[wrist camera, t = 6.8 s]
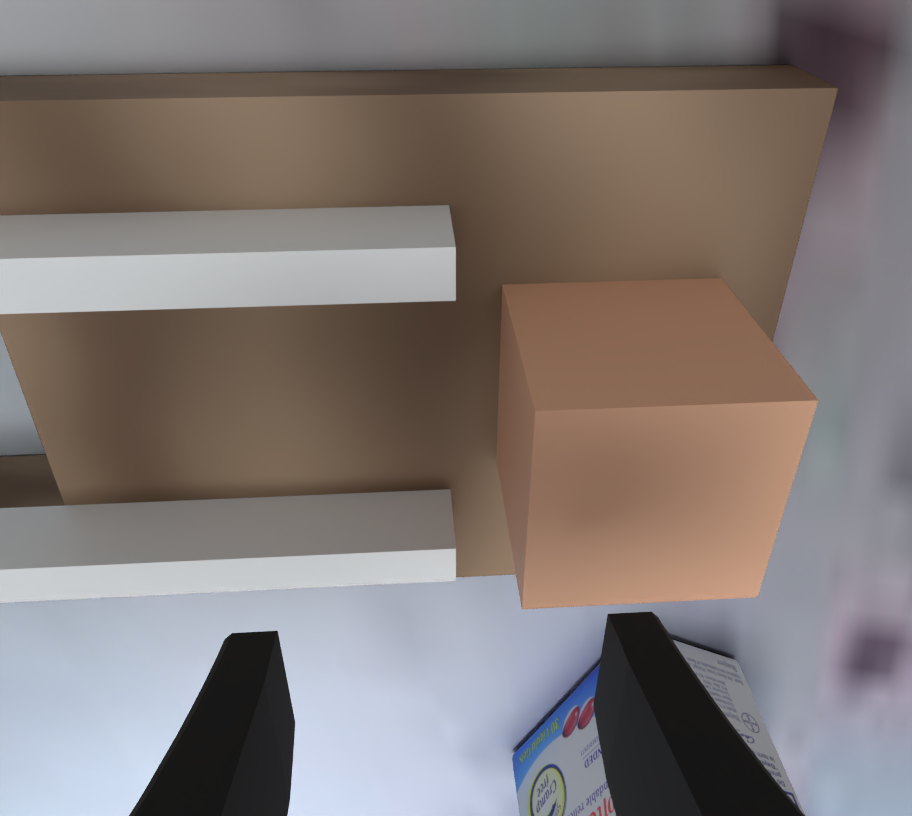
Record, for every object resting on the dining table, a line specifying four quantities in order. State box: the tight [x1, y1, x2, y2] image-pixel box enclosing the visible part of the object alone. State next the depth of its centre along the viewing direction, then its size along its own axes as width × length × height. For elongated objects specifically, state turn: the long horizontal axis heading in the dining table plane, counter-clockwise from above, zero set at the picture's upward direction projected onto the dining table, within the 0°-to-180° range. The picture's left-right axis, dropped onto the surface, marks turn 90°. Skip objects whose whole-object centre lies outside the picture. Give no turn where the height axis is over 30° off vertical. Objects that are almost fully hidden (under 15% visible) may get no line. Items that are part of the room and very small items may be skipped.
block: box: [496, 278, 818, 609], centre depth 15 cm, size 4×4×4 cm
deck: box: [0, 65, 838, 577], centre depth 18 cm, size 25×12×2 cm, turn 90°
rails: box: [0, 205, 456, 603], centre depth 16 cm, size 18×8×2 cm, turn 90°
